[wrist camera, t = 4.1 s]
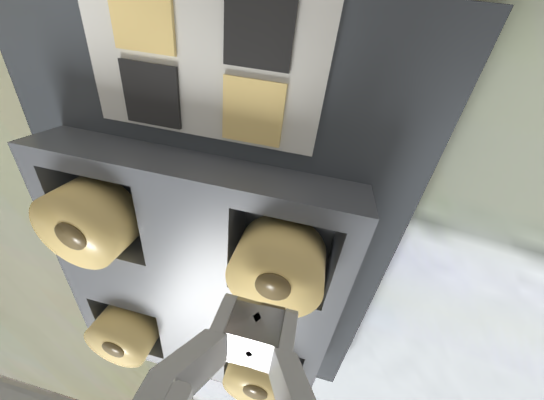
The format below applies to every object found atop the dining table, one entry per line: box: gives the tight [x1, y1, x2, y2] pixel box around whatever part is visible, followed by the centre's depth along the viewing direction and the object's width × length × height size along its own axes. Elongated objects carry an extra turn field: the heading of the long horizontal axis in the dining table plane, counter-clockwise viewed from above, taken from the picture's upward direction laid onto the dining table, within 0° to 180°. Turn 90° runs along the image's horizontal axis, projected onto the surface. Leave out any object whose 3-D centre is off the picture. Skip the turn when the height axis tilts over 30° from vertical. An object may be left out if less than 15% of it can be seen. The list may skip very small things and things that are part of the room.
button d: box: [29, 176, 140, 270], centre depth 14 cm, size 4×4×2 cm
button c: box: [225, 216, 326, 318], centre depth 13 cm, size 4×4×2 cm
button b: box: [84, 305, 159, 368], centre depth 19 cm, size 4×4×2 cm
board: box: [0, 0, 513, 388], centre depth 17 cm, size 22×26×5 cm
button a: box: [222, 362, 275, 400], centre depth 18 cm, size 4×4×2 cm
